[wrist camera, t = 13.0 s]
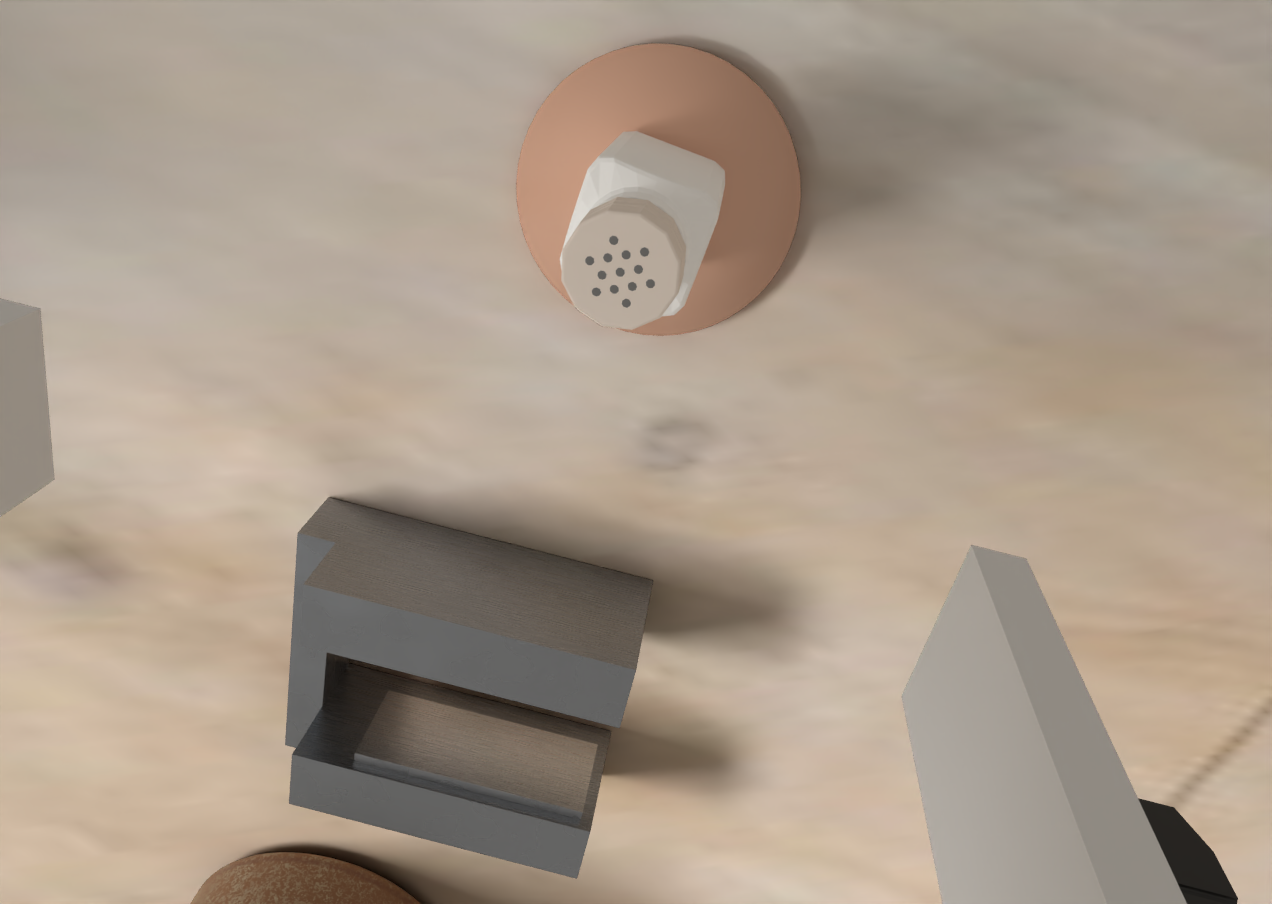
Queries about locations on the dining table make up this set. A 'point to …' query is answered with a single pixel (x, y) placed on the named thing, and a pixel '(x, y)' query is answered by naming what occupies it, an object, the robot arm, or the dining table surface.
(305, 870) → the planter
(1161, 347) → the dining table surface
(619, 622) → the vise
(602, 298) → the pepper shaker
